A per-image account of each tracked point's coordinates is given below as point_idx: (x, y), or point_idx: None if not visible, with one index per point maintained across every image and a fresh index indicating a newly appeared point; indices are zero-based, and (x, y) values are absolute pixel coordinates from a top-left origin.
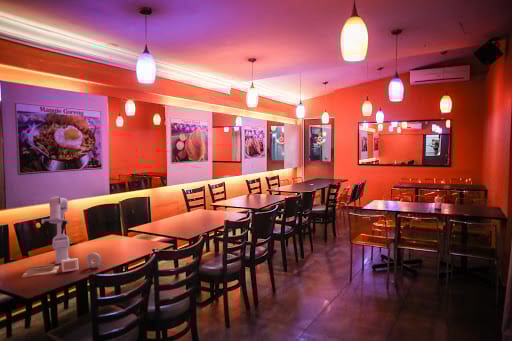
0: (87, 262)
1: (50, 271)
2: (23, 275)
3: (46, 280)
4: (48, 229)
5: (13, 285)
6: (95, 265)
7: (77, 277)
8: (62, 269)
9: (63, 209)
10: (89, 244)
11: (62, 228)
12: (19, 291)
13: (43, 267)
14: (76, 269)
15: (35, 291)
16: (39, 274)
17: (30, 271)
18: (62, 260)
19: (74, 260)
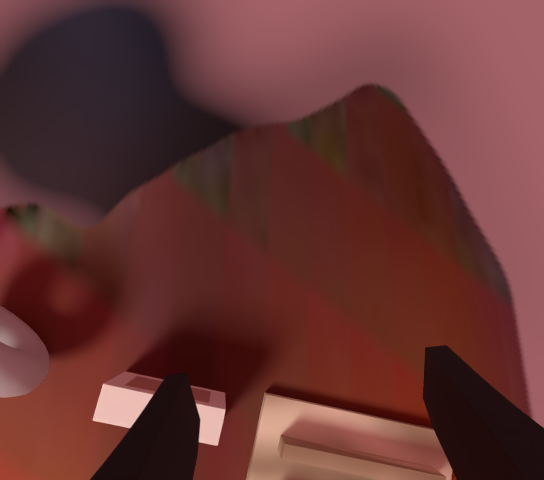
0: (41, 353)
1: (295, 423)
2: None
3: (318, 278)
4: (472, 390)
5: (477, 315)
6: (3, 308)
7: (155, 207)
8: (222, 395)
9: None
10: None
11: (155, 445)
12: (437, 192)
13: (343, 470)
14: (134, 373)
15: (367, 137)
16: (358, 413)
17: (418, 468)
18: (215, 430)
19: (127, 387)
